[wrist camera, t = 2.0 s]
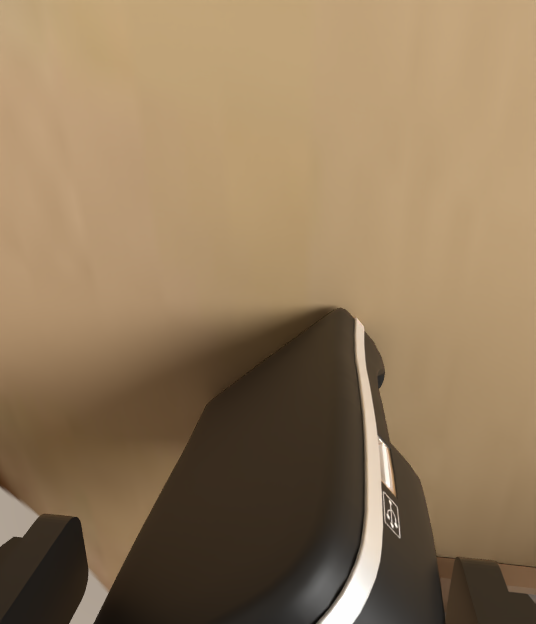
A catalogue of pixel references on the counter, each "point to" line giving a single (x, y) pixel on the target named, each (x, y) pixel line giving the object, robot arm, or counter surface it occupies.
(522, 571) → the ring collar
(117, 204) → the counter surface
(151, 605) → the battery charger
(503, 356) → the counter surface
